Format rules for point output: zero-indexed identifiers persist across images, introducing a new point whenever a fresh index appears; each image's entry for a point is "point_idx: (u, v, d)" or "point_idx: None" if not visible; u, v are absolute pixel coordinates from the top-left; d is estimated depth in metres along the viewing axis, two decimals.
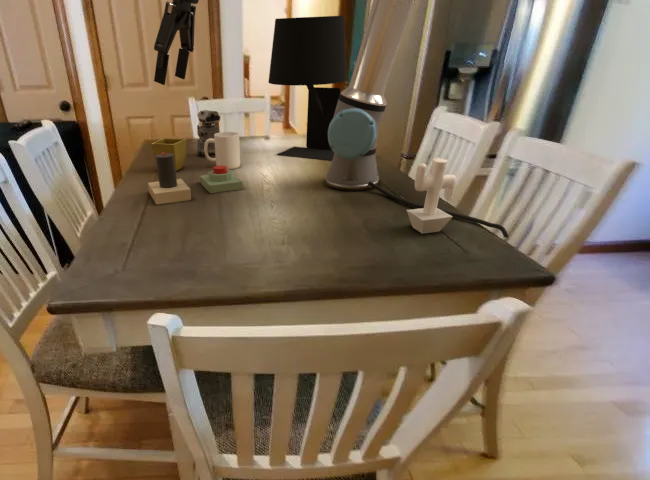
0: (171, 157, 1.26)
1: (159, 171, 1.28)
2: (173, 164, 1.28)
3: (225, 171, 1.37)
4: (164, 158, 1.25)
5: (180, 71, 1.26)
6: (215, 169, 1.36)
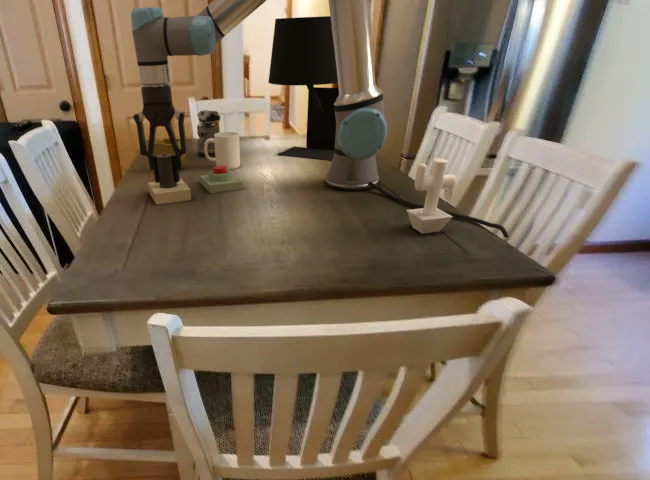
0: (171, 157, 1.26)
1: (159, 171, 1.28)
2: (173, 164, 1.28)
3: (225, 171, 1.37)
4: (164, 158, 1.25)
5: None
6: (215, 169, 1.36)
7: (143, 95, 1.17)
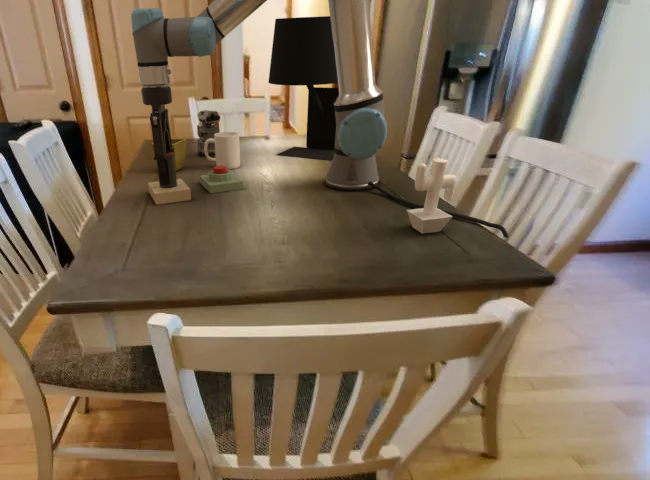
0: None
1: None
2: None
3: (225, 171, 1.37)
4: None
5: None
6: (215, 169, 1.36)
7: None
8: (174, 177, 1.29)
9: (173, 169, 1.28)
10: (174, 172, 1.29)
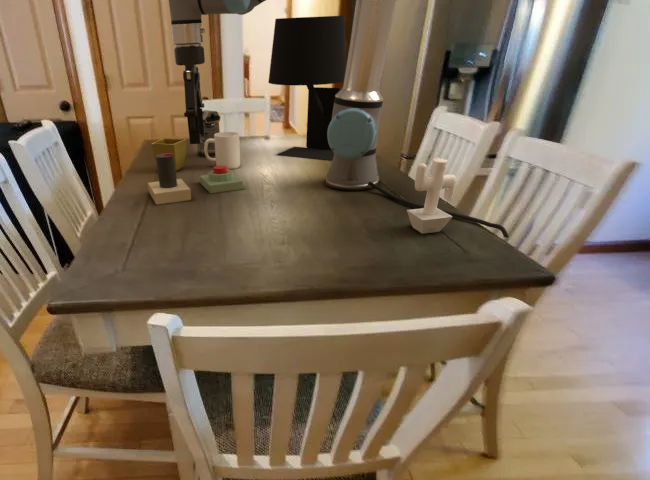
0: (158, 158, 1.26)
1: None
2: (161, 166, 1.27)
3: (225, 171, 1.37)
4: None
5: None
6: (215, 169, 1.36)
7: None
8: (174, 177, 1.29)
9: (173, 169, 1.28)
10: (174, 172, 1.29)
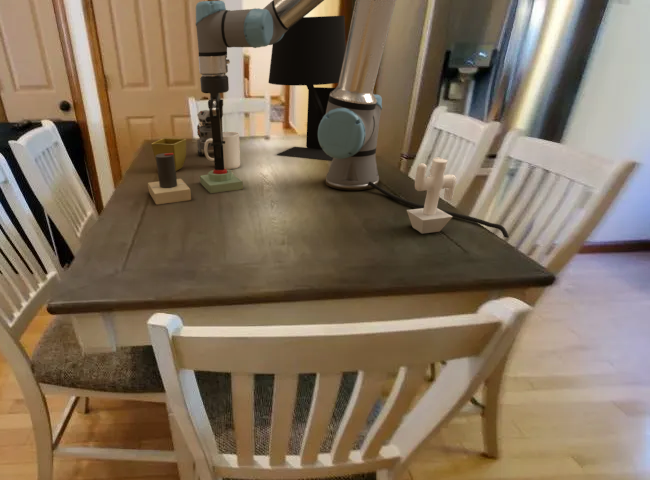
0: (158, 158, 1.26)
1: None
2: (161, 166, 1.27)
3: None
4: None
5: None
6: (215, 172, 1.37)
7: None
8: (174, 177, 1.29)
9: (173, 169, 1.28)
10: (174, 172, 1.29)
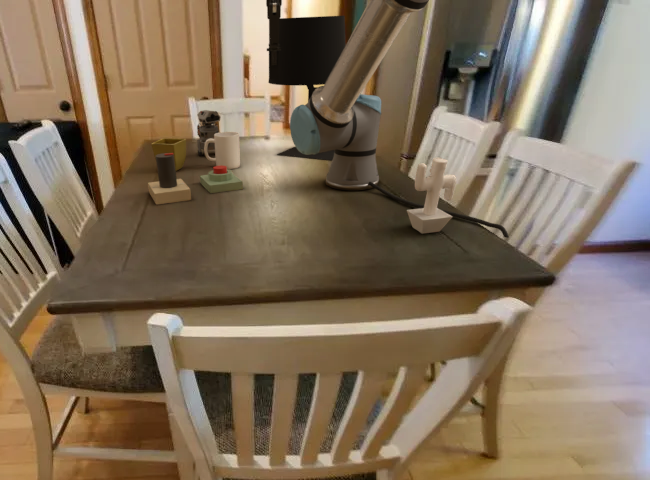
0: (158, 158, 1.26)
1: None
2: (161, 166, 1.27)
3: (225, 171, 1.37)
4: None
5: None
6: (215, 169, 1.36)
7: None
8: (174, 177, 1.29)
9: (173, 169, 1.28)
10: (174, 172, 1.29)
